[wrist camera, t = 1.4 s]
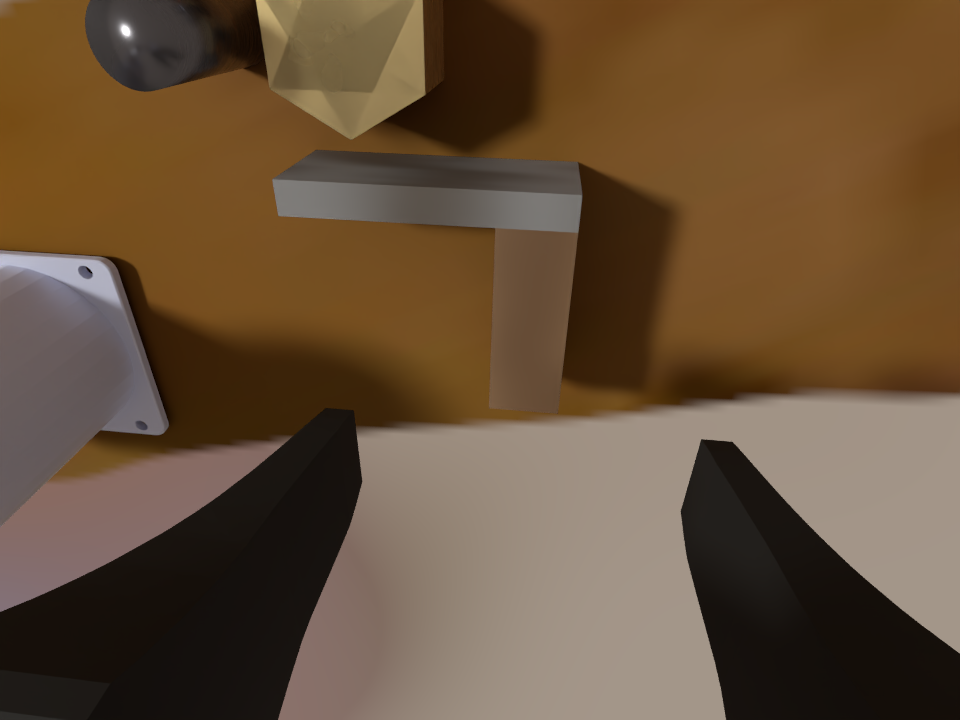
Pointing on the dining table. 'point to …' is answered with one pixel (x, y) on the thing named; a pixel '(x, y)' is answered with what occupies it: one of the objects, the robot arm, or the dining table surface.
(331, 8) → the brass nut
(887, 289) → the dining table surface
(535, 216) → the hook tool
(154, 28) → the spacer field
